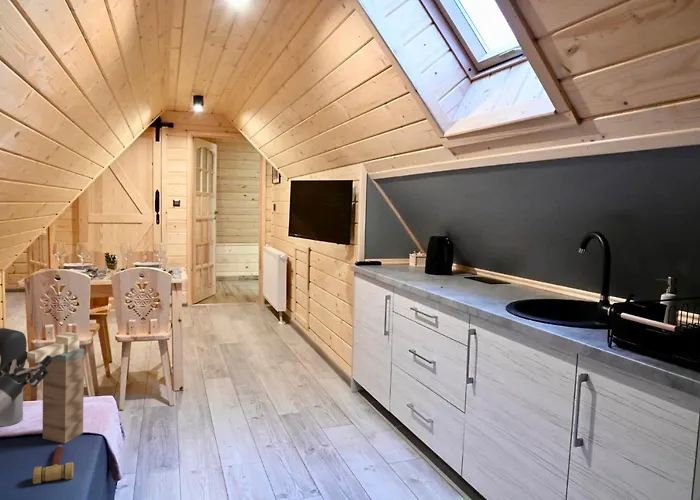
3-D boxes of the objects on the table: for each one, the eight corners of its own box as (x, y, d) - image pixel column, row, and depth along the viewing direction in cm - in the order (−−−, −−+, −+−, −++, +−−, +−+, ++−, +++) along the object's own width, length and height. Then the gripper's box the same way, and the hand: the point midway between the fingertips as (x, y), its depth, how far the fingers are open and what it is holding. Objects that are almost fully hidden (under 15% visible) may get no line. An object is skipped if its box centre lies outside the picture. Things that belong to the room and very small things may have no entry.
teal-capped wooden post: (64, 443, 169) (66, 356, 166) (42, 438, 172) (43, 352, 168) (82, 432, 177) (84, 349, 174) (61, 428, 179) (62, 345, 176)
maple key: (37, 363, 158) (37, 348, 157) (24, 361, 159) (24, 345, 158) (79, 348, 174) (79, 334, 174) (67, 346, 175) (67, 332, 175)
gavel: (42, 441, 164) (77, 437, 168) (42, 455, 164) (77, 450, 169) (32, 471, 145) (72, 466, 149) (32, 487, 145) (72, 481, 150)
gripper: (-15, 400, 152) (25, 359, 164) (24, 408, 149) (62, 366, 161) (-27, 384, 147) (15, 343, 160) (13, 392, 144) (53, 350, 157)
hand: (39, 355), depth 161 cm, fingers open, 8 cm apart
